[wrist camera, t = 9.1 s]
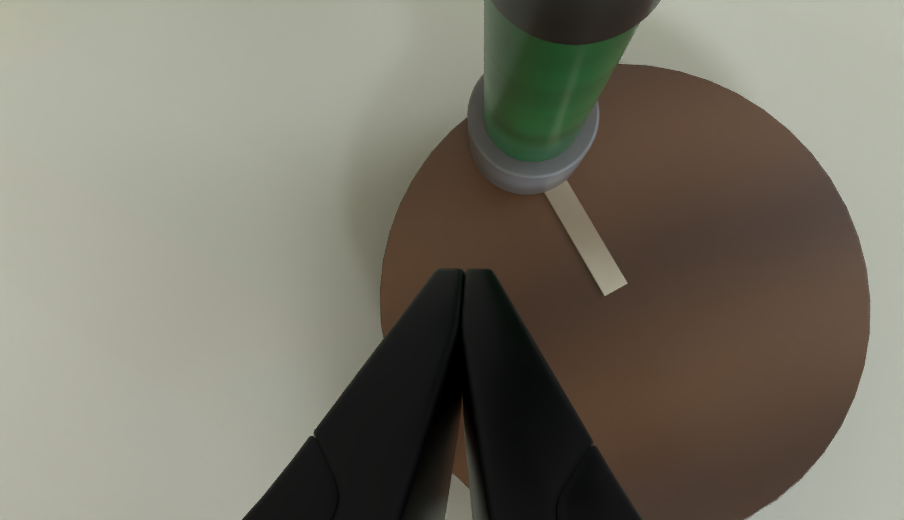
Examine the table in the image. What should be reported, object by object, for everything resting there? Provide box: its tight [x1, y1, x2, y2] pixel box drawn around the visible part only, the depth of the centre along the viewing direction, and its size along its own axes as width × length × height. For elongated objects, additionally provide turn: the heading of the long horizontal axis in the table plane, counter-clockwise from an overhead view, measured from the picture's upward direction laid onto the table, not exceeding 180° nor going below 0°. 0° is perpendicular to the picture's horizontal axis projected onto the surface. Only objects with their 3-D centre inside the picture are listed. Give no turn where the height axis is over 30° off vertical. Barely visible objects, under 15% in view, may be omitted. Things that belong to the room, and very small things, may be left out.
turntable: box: [380, 0, 870, 520], centre depth 11 cm, size 13×13×11 cm
